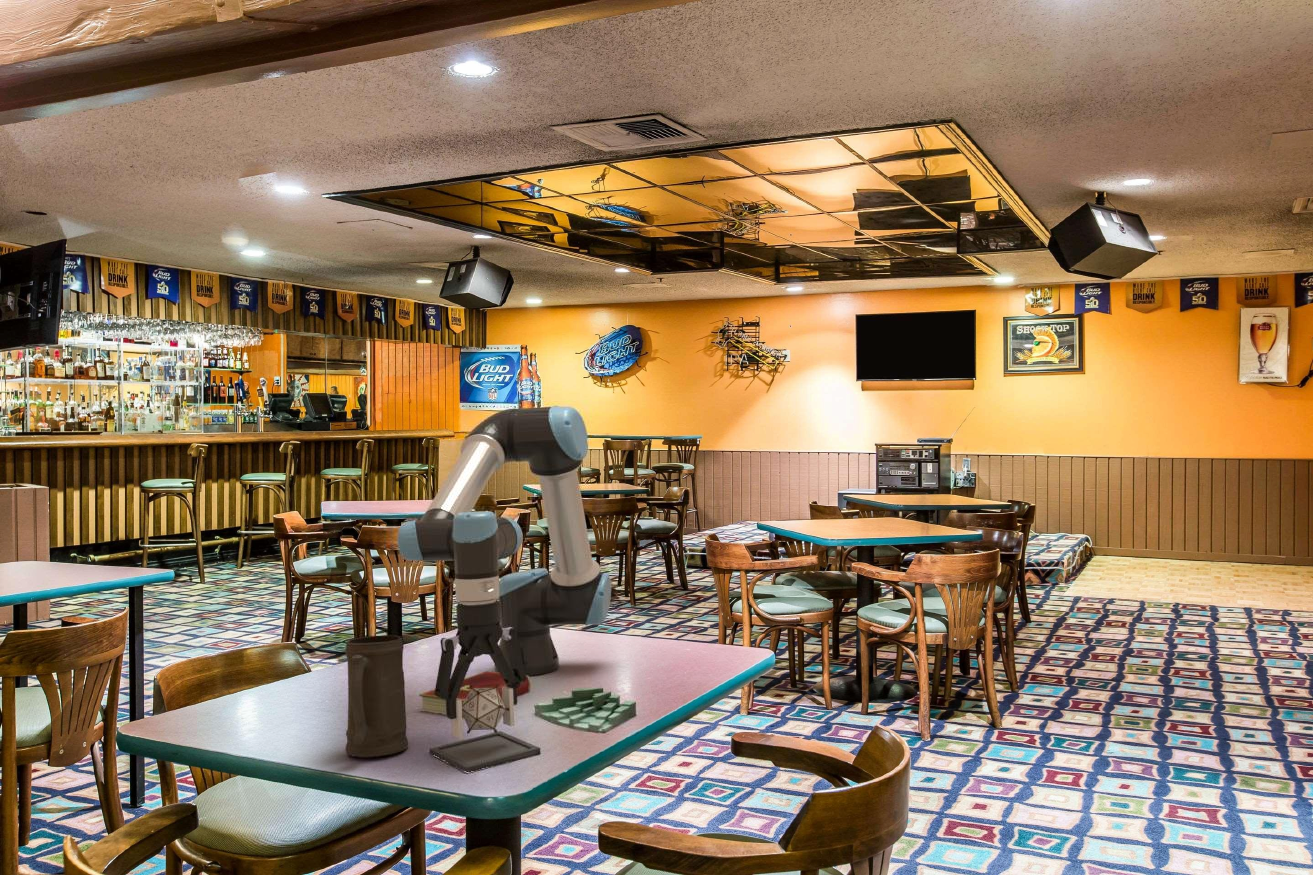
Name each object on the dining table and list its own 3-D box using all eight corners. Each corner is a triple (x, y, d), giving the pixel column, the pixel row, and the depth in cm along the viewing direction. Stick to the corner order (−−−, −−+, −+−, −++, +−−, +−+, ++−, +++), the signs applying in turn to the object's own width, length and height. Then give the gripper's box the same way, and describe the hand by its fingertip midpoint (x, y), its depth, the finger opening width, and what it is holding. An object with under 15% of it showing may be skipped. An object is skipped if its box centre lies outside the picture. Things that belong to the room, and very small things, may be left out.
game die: (494, 749, 174) (525, 698, 177) (481, 746, 167) (514, 693, 169) (453, 722, 177) (485, 672, 179) (438, 718, 169) (471, 666, 171)
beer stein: (353, 743, 182) (349, 634, 182) (413, 739, 183) (408, 630, 183) (333, 771, 167) (328, 652, 167) (399, 766, 168) (393, 648, 168)
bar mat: (429, 754, 174) (429, 748, 174) (500, 736, 183) (500, 730, 183) (467, 773, 163) (466, 767, 163) (540, 753, 172) (540, 747, 172)
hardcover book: (530, 694, 214) (529, 674, 214) (465, 720, 196) (464, 698, 196) (487, 688, 221) (486, 669, 220) (420, 713, 202) (419, 692, 202)
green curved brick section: (647, 712, 196) (645, 687, 196) (604, 735, 182) (603, 709, 182) (561, 703, 206) (560, 679, 206) (515, 725, 191) (514, 699, 191)
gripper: (428, 612, 163) (434, 749, 163) (543, 594, 177) (549, 721, 177) (409, 607, 169) (415, 739, 169) (522, 590, 183) (527, 713, 183)
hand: (483, 730), depth 173 cm, fingers closed on game die, 9 cm apart
